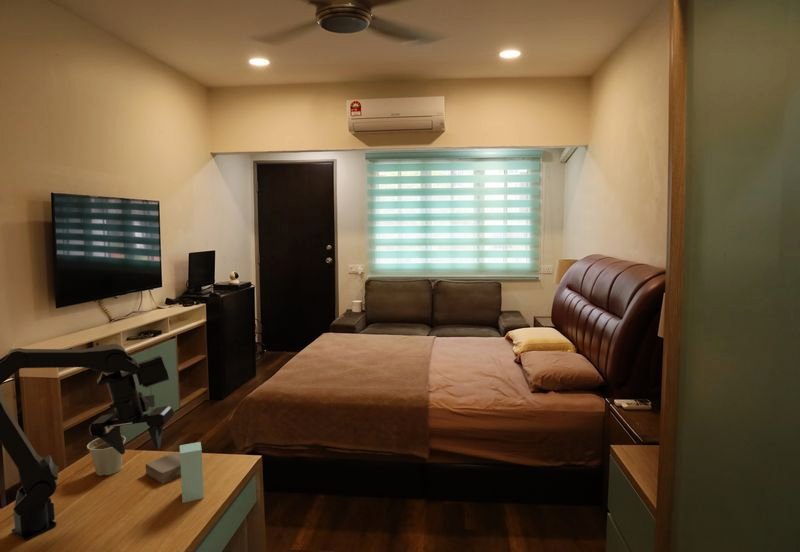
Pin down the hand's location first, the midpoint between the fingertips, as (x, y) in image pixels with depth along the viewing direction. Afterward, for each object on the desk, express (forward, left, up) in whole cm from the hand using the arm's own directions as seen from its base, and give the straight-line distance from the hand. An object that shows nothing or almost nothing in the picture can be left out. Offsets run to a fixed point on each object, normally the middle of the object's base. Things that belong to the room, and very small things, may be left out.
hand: (141, 451), depth 123 cm
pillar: (+7, -10, -13) cm, 18 cm away
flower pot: (+4, +22, -13) cm, 26 cm away
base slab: (+12, +6, -13) cm, 19 cm away
